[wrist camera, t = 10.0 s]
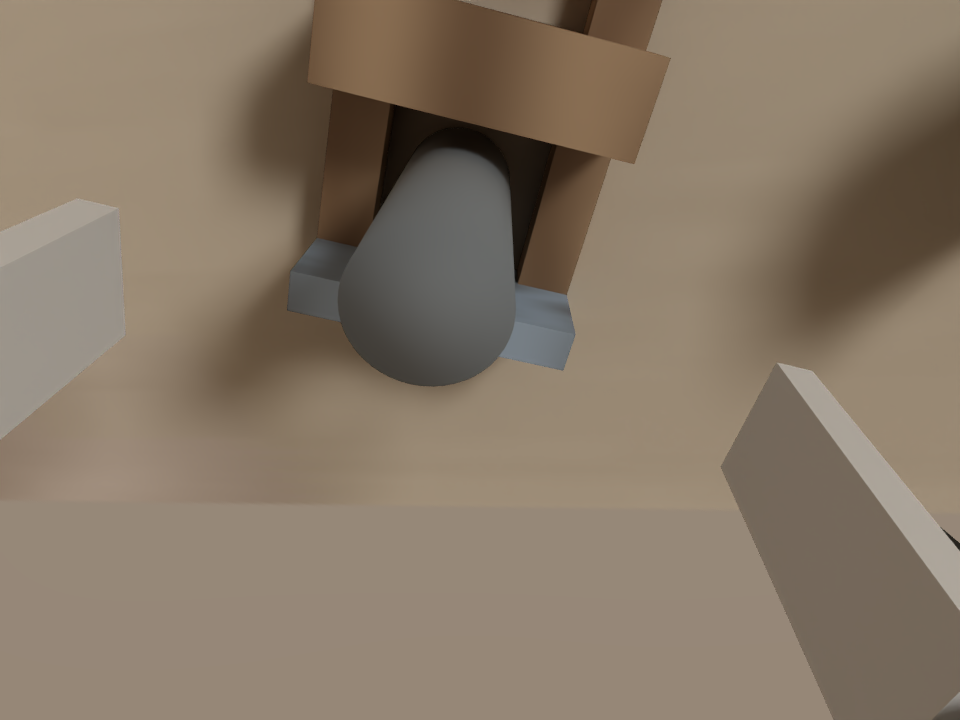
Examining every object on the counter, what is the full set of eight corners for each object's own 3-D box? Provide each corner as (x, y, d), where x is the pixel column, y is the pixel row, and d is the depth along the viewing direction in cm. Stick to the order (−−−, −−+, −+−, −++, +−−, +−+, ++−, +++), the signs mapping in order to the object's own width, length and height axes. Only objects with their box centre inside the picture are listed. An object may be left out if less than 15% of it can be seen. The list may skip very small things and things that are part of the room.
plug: (521, 141, 24) (537, 247, 13) (496, 241, 26) (491, 401, 15) (417, 115, 23) (350, 203, 13) (399, 218, 25) (328, 366, 15)
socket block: (725, -229, 19) (794, -302, 14) (553, 312, 27) (563, 370, 23) (390, -332, 18) (354, -443, 13) (322, 260, 26) (286, 310, 22)
